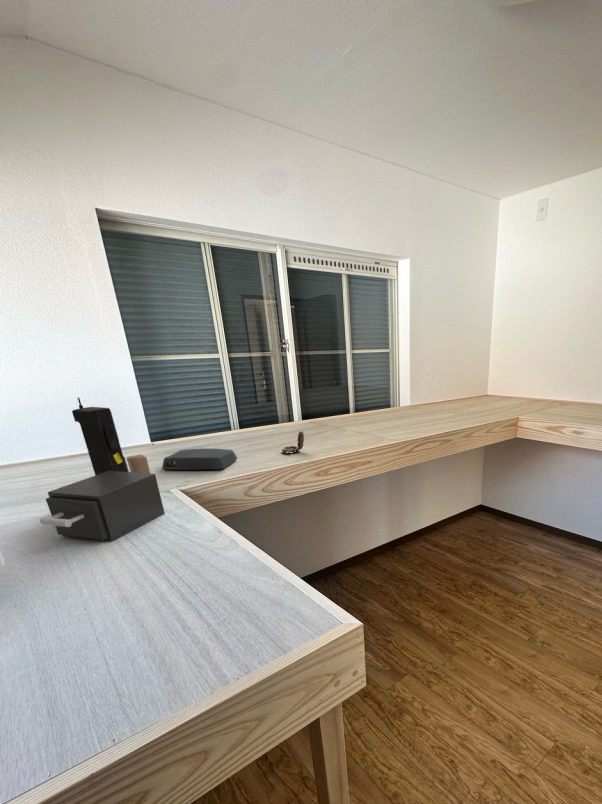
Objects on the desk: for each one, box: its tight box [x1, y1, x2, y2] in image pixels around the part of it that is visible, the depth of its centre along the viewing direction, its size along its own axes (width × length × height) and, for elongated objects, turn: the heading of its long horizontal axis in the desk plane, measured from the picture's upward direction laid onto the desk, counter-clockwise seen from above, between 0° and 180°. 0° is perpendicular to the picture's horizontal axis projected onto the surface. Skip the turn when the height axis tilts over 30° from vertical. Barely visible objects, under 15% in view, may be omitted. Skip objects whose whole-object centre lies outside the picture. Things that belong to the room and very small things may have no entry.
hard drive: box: [161, 447, 238, 471], centre depth 132 cm, size 13×19×4 cm
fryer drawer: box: [39, 496, 108, 541], centre depth 85 cm, size 18×11×8 cm, turn 166°
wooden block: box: [126, 454, 151, 474], centre depth 114 cm, size 4×4×8 cm
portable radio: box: [71, 397, 130, 476], centre depth 100 cm, size 8×6×25 cm
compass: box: [281, 430, 305, 453], centre depth 144 cm, size 8×8×7 cm
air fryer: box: [47, 471, 166, 542], centre depth 89 cm, size 15×13×10 cm
